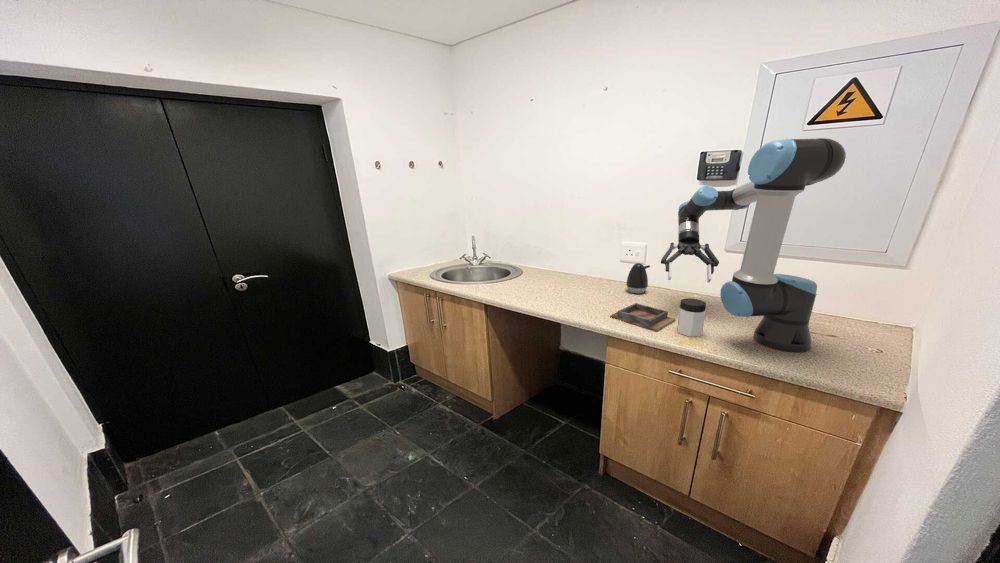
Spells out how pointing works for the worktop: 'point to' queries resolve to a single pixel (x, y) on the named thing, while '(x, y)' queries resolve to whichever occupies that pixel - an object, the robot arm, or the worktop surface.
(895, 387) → the worktop surface
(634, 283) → the pump dispenser
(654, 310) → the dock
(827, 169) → the robot arm
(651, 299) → the worktop surface
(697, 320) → the jar
